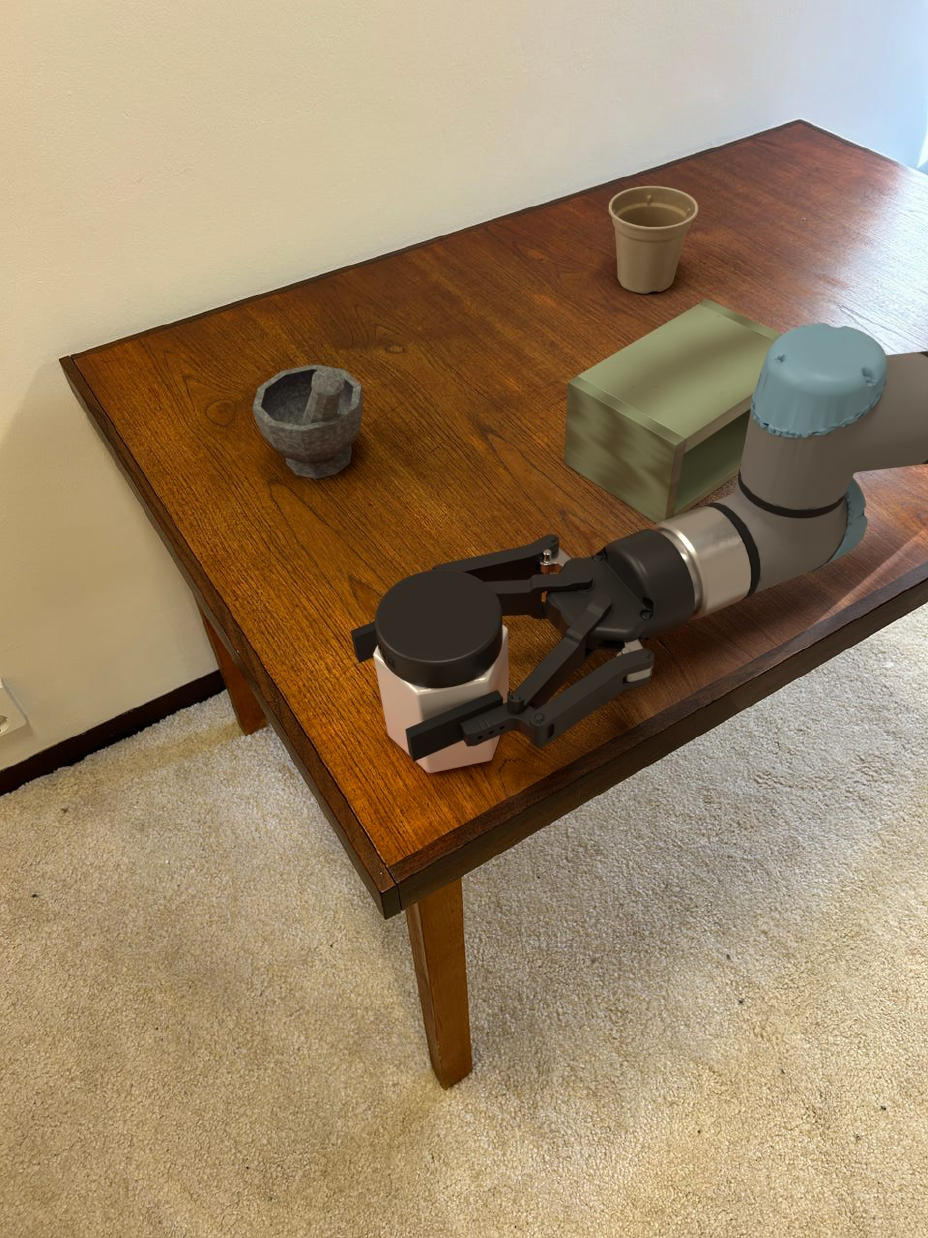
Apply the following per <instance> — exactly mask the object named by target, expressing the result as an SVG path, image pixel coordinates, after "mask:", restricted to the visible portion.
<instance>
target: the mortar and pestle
mask: <svg viewBox="0 0 928 1238" xmlns="http://www.w3.org/2000/svg"><path fill="white" fill-rule="evenodd" d="M253 401H254V402H253V404H252V411H253V415H254V420H255V422H256V425H257V426H258V428H259V430H260V433H261V434H262V436H264V438H265V439H266V440H267V441H268V442H269V443H270V444H271V445H272V446H273V447H274V448H275V449H276V450H277V452H279V454H281V456H283V457H284V458H285V462H286V465H287V466H288V468H289V469H290V470H291V471H292V472H293V473H294V474H295V475H296V476H299V477H303V478H310V479H314V480H316V479H321V478H326V477H329V476H334V475H337V474H338V473H340V472H341V471H342V470H343V469H344V468H346V467H347V466H348V465H349V464H351V458H352V452H353V448H352V445H353V444H354V443H356V440H357V439H358V436H359V434H360V432H361V426H362V418H363V412H364V410H363V408H364V393H363V386H362V384H361V383H360V382H359V381H358V380H357V379H356V378H355V377H353V376H352V375H351V374H350V373H349V372H347V371H346V370H345V369H343V368H338V367H332V366H325V365H320V364H310V365H304V366H300V367H295V368H291V369H285V370H281V371H280V372H278V373H276V374H275V375H274V376H272V377H271V378H269V379H268V380H267V381H266V382H264V383H263V384H261V385H259V386H258V387H257V390H256V394H255V398H254V400H253Z"/></svg>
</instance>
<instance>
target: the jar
mask: <svg viewBox="0 0 928 1238" xmlns="http://www.w3.org/2000/svg"><path fill="white" fill-rule="evenodd" d="M374 621H375V632H376V641H377V647H376V649H375V651H374V654H373V656H374V657H373V661H374V667H375V672H376V679H377V682H378V683H377V684H378V688H379V694H380V700H381V704H382V710H383V715H384V721H385V726H386V732H387V736H388V737H389V738H391V740H392V741H394V743H395V744H396V745H398V746H399V747H400V748H401V749H402V750H403V751H404V752H405V753H406V754H407V755H408V756H410V754H409V751H408V744H407V738H406V731H405V729H407V728H409V727H411V726H414V725H416V724H418V723H421V722H423V721H425V720H428V719H430V718H432V717H435V716H437V715H439V714H442V713H444V712H446V711H449V710H451V709H453V708H456V707H458V706H460V705H463V704H465V703H468V702H470V701H472V700H475V699H477V698H479V697H482V696H484V695H486V694H489V693H491V692H493V691H496V690H498V691H499V693H500V694H501V696H502V697H503V703H506V702H507V692H508V691H509V690H510V678H509V677H510V676H509V675H510V674H509V673H510V669H509V668H510V667H509V629H508V628H507V626H505V625H504V624H503V616H502V608H501V604H500V602H499V599H498V597H497V596H496V594H495V593H494V591H493V590H492V589H491V588H490V587H489V586H488V585H487V584H486V583H484V582H483V581H481V580H480V579H478V578H476V577H474V576H472V575H470V574H467V573H464V572H460V571H455V570H431V569H430V570H425V571H424V570H423V571H421V572H417V573H414V574H411V575H408V576H407V577H405V578H403V579H401V580H399V581H398V582H396V583H395V584H394V585H392V586H391V587H390V588H389V589H388V590H387V591H386V592H385V593H384V595H383V596H382V598H381V599H380V600H379V602H378V606H377V607H376V610H375V614H374ZM500 737H501V735H499V736H497V737H495V738H492V739H489V740H488V741H486V742H483V743H481V744H479V745H477V746H469V747H467V746H466V744H465V742H464V741H460V742H458V743H456V744H454V745H451V746H449V747H447V748H444V749H442V750H440V751H438V752H435V753H433V754H431V755H428V756H426V757H424V758H422V759H419V760H417V761H415V762H416V764H418V765H419V766H420V767H421V768H422V769H423V770H424V771H425V773H428V774H434V773H437V772H443V771H447V770H452V769H456V768H457V769H458V768H462V767H467V766H471V765H477V764H480V763H484V762H485V763H486V762H491V761H492V760H493V757H494V755H495V753H496V749H497V746H498V743H499V741H500V739H501V738H500Z"/></svg>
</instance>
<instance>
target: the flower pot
mask: <svg viewBox="0 0 928 1238" xmlns="http://www.w3.org/2000/svg"><path fill="white" fill-rule="evenodd" d="M608 213H609V215H610V217H611V222H612V225H613V227H614V233H615V234H614V235H615V249H616V250H615V251H616V264H617V265H616V266H617V268H616V269H617V270H616V271H617V279H618V281H619V283H620V286H621V287H623V288H624V289H625V290H626V291H629V292H633V293H635V294H636V293H637V294H642V295H648V294H649V293H652V292H657V293H661V292H664V291H665V290H668V288H670V287H671V286H672V284H673V283H674V280H675V275H676V272H677V268H678V264H679V261H680V258H681V254H682V251H683V248H684V243H685V240H686V237H687V233H688V231H689V230H690V228H691V227H692V223H693V221H694V220H695V219H696V218H697V216H698V213H699V204H698V202H697V201H696V200H695V198H694V197H692V196H691V195H690V194H688V193H686V192H684V191H682V190H679V189H676V188H673V187H667V186H660V185H645V186H644V185H643V186H636V187H632V188H628V189H625V190H622V191H620V192H618V193H617V194H615V195H614V196H613V197H612V199H610V201H609V203H608Z"/></svg>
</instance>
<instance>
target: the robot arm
mask: <svg viewBox="0 0 928 1238" xmlns="http://www.w3.org/2000/svg"><path fill="white" fill-rule="evenodd" d="M750 408H751V411H750V417H749V423H748V428H747V434H746V440H745V445H744V450H743V456H742V461H741V464H740V467H739V471H738V475H736V479H735V485H734V490H733V491H732V493H730V494H729V495H726V496H724V497H722V498H719V499H717V500H715V501H712V502H708V503H707V504H704V505H702V506H699V507H697V508H694V509H691V510H688V511H686V512H685V513H684V514H681V515H678V516H676V517H673V518H670V519H668V520H665V521H662V522H660V523H654V525H653V526H652V527H651V528H644V529H641V530H638V531H636V532H633V533H631V534H628V535H626V536H623V537H621V538H618V539H616V540H612V541H611V542H609V543H607V544H605V545H604V546H603V547H602V548H601V549H600V550H599V551H598V552H597V553H595V554H593V555H592V556H586V557H571V556H570V555H568V554H567V553H566V552H565V551H564V550H562V548H561V547H560V537H559V536H558V535H557V534H553V533H550V534H549V533H548V534H545V535H543V536H542V537H540V538H538V539H536V540H535V541H532V542H531V543H529V544H526V545H521V546H516V547H513V548H507V549H503V550H497V551H494V552H490V553H486V554H481V555H476V556H471V557H467V558H463V559H458V560H454V561H447V562H445V563H440V564H436V565H434V566H432V567H431V569H430V570H455V571H460V572H464V573H467V574H470V575H472V576H474V577H476V578H478V579H480V580H481V581H483V582H484V583H486V584H487V585H488V586H489V587H490V588H491V589H492V590H493V591H494V593H495V594H496V596H497V597H498V599H499V602H500V604H501V608H502V617H515V616H516V617H517V616H530V617H531V618H532V619H534V620H548V621H549V623H550V624H551V625H552V626H554V627H555V628H556V629H558V630H559V632H560V635H561V638H562V639H561V640H560V641H559V643H557V644H556V645H555V647H554V648H553V649H552V650H551V651H550V652H549V653H548V654H547V656H545V658H543V660H542V661H541V662H540V663H539V664H538V665H537V666H536V667H535V668H534V670H532V671H531V673H530V674H529V675H528V676H527V677H526V678H525V679H524V680H523V681H522V682H521V683H520V684H519V686H518V687H517V688H516V689H515V690H514V691H512V692H511V690H510V689H509V691H508V692H507V702H506V703H503V697H502V696H501V694H500V693H499V691H498V690H496V691H493V692H491V693H489V694H486V695H484V696H482V697H479V698H477V699H475V700H472V701H470V702H468V703H465V704H463V705H460V706H458V707H456V708H453V709H451V710H449V711H446V712H444V713H442V714H439V715H437V716H435V717H432V718H430V719H428V720H425V721H423V722H421V723H418V724H416V725H414V726H411V727H409V728H407V729H405V731H406V738H407V744H408V751H409V754H410V755H409V757H410V758H411V760H412V761H413V763H415V762H416V761H417V760H419V759H422V758H424V757H426V756H428V755H431V754H433V753H435V752H438V751H440V750H442V749H444V748H447V747H449V746H451V745H454V744H456V743H458V742H460V741H464V742H465V744H466V746H467V747H469V746H477V745H479V744H481V743H483V742H486V741H488V740H489V739H492V738H495V737H497V736H499V735H500V736H502V735H503V734H504V735H505V734H506V733H508V732H512V731H513V732H519V733H521V734H522V735H524V737H526V738H528V739H529V743H530V744H531V746H533V747H534V748H543V747H545V746H547V745H548V744H550V743H551V742H553V741H554V740H555V739H556V738H558V737H560V736H561V735H563V734H564V733H565V732H567V731H569V730H570V729H571V728H573V727H574V726H575V725H576V724H578V723H579V722H581V721H582V720H584V719H585V718H587V717H588V716H590V715H591V714H592V713H594V712H595V711H597V710H598V709H600V708H601V707H602V706H604V705H605V704H606V703H608V702H610V701H611V700H612V699H614V698H615V697H617V696H618V695H620V694H621V693H622V692H625V691H628V690H631V689H636V688H639V687H642V686H645V685H648V684H649V683H650V682H651V680H652V672H653V667H654V662H655V653H654V652H653V650H651V649H649V648H646V647H645V648H644V647H643V645H642V643H641V642H642V641H643V642H644V641H647V642H649V641H652V640H654V639H656V638H659V637H661V636H663V635H665V634H667V633H670V632H672V631H674V630H677V629H679V628H681V627H684V626H686V625H687V624H688V623H689V622H690V621H695V620H696V621H697V620H699V619H701V618H703V617H706V616H709V615H710V614H713V613H715V612H718V611H720V610H722V609H724V608H727V607H729V606H731V605H734V604H736V603H738V602H741V601H742V600H745V599H748V598H750V597H752V595H755V594H757V593H760V592H762V591H764V590H767V589H769V588H772V587H775V586H777V585H779V584H782V583H784V582H787V581H789V580H792V579H795V578H797V577H799V576H802V575H804V574H809V573H813V572H816V571H819V570H820V569H822V568H824V567H826V566H827V565H828V564H830V563H832V562H833V561H835V560H837V559H839V558H841V557H843V556H844V555H846V554H849V553H850V552H851V551H853V550H854V549H855V548H857V546H858V545H859V544H860V543H861V542H862V540H863V539H864V537H865V534H866V531H867V527H868V522H869V520H868V518H867V516H866V515H865V508H866V507H867V501H866V496H865V495H864V492H863V490H862V488H861V486H860V484H859V483H858V481H857V480H856V479H855V478H854V474H856V473H862V472H871V471H880V470H888V469H889V470H890V469H897V468H898V469H899V468H907V467H914V466H921V465H928V350H921V351H912V352H904V353H895V354H886V351H885V350H884V347H882V345H881V344H880V343H879V342H878V341H877V340H876V339H875V338H874V337H872V336H871V335H869V334H867V333H866V332H864V331H862V330H859V329H857V328H854V327H851V326H847V325H843V326H840V327H836V326H832V325H830V324H828V323H826V322H817V323H809V324H804V325H800V326H795V327H794V328H791V329H789V330H788V331H786V332H784V333H783V334H782V335H781V336H780V337H779V338H778V339H777V340H776V341H775V342H774V343H773V344H772V345H771V347H770V349H769V351H768V353H767V355H766V358H765V361H764V364H763V366H762V368H761V371H760V375H759V378H758V381H757V385H756V388H755V391H754V393H753V396H752V403H751V407H750ZM544 593H546V594H545V601H543V594H544ZM350 637H351V641H352V645H353V649H354V650H353V651H354V656H355V658H356V660H357V662H358V663H359V664H361V663H363V662H365V661H368V660H370V659H374V656H373V654H374V651H375V649H376V647H377V641H376V632H375V620H374V621H371V622H369V623H366V624H364V625H362V626H358V627H356V628H353V629H351V630H350ZM597 651H604V652H605V651H606V652H613V653H614V652H615V653H617V654H616V655H615V656H614V657H612V658H611V659H609V660H607V661H606V662H604V663H603V664H601V665H600V666H599V667H597V668H596V669H594V670H593V671H591V672H589V673H588V674H587V675H585V676H584V677H582V678H581V679H579V680H578V681H576V682H575V683H574V684H572V685H571V686H569V687H568V688H566V689H565V690H563V691H562V692H561V693H559V694H558V695H556V696H555V694H556V693H557V692H558V691H559V689H560V688H561V687H562V686H563V685H564V684H565V683H566V682H567V680H568V679H569V678H571V676H572V675H573V674H574V673H575V672H576V671H577V670H582V668H583V667H584V666H585V665H586V663H587V662H588V661H589V660H590V659H591V658H592V657H593V655H594V654H595V653H597ZM553 696H555V697H553ZM552 697H553V698H552Z"/></svg>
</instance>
